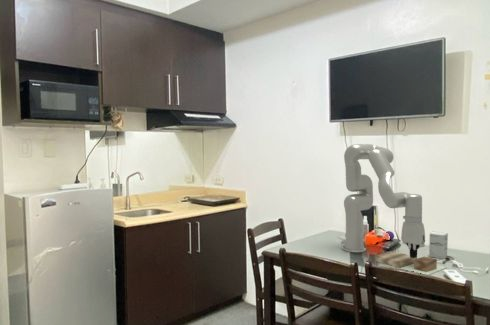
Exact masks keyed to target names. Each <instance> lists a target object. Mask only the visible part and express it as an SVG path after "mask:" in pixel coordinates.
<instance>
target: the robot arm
mask: <svg viewBox="0 0 490 325" xmlns="http://www.w3.org/2000/svg"><path fill="white" fill-rule="evenodd" d="M343 159H344V166H345V187H346V189H347V190H348V191H349V192H352V193H353V194H349V195H347V196H345V198H344V201H343V207H344V212H345V240H344V239H342V240H341V242H340V244H341V245H344V246H343V247H342V250H343V251H345V252H347V253H348V252H349V253H365V252H367V248H366V247H365V246H364V218H363V214H362V212H361V211H366V210H367V211H368V210H369V209H371V208H372V207H373V204H374V189H373V188H374V184H373V180H372V178H371V177H370V176H369V175H368V174H362V166H361V163H360V162H359V160H368V161H369V163H370V165H371V167H372V168H373V171H374V173H375V175H376V176H377V178H378V183H377V184H378V185H377V187H378V193H379V196H380V198H381V200H382V201H383V204H384V205H385V206H386V207H388V208H389V209H399V208H405V209H404V215H403V216H402V219H404V221H403V222H402V227H401V237H400V238H401V241H402V244H404V245H406V246H407V247H408V250H409V255H410V258H416V257H417V258H418V250H419V249H420V248H424V247H426V245H425V243H426V231H425V225H424V223H423V197H422V195H421V194H418V193H408V192H403V191H402V192H394V190H393V189H392V187H391V185H390V181H391V180H390V179H391V178H393V177H394V175H395V170H394V169H393V167H392V165H391V163H393V161H394V154H393V151H391V150H390V149H388V148H387V147H384V146H379V145H375V144H369V143H364V144H363V143H362V144H361V143H357V144H350V145H349V146H348V147H347V148H346V149H345V152H344V154H343ZM355 192H356V193H355ZM357 192H358V193H357Z"/></svg>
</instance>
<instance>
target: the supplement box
mask: <svg viewBox="0 0 490 325" xmlns="http://www.w3.org/2000/svg"><path fill="white" fill-rule="evenodd" d="M448 237H449V233H447V232H441V231H432V232H430V233H429V243H428V245H429V247H428V248H429V251H428V255H429V256H428V257H429V258H434V259H436V258H437V259H442V260H445V259H446V258H447V257H448V247H449V246H448V241H449V240H448Z"/></svg>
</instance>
